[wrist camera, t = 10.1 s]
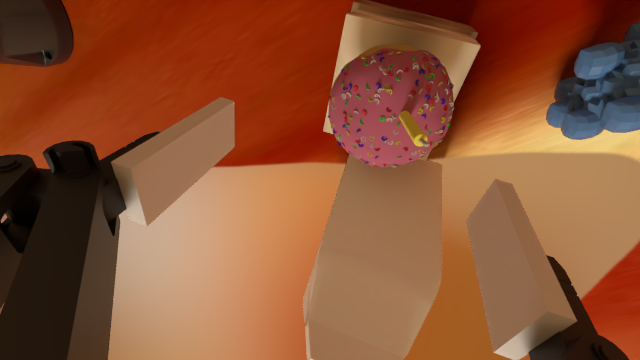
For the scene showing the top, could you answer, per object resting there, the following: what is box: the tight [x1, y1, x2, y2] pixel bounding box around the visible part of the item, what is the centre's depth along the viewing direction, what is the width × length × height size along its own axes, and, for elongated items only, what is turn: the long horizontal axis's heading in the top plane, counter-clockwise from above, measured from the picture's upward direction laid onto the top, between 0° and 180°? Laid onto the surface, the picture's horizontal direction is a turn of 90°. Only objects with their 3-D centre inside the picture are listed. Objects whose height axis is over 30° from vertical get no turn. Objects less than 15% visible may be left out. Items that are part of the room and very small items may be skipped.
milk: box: [303, 154, 442, 360], centre depth 31 cm, size 12×12×26 cm
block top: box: [323, 9, 481, 161], centre depth 26 cm, size 10×10×5 cm
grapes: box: [546, 22, 640, 140], centre depth 23 cm, size 12×7×12 cm, turn 154°
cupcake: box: [328, 44, 454, 168], centre depth 19 cm, size 9×8×12 cm
